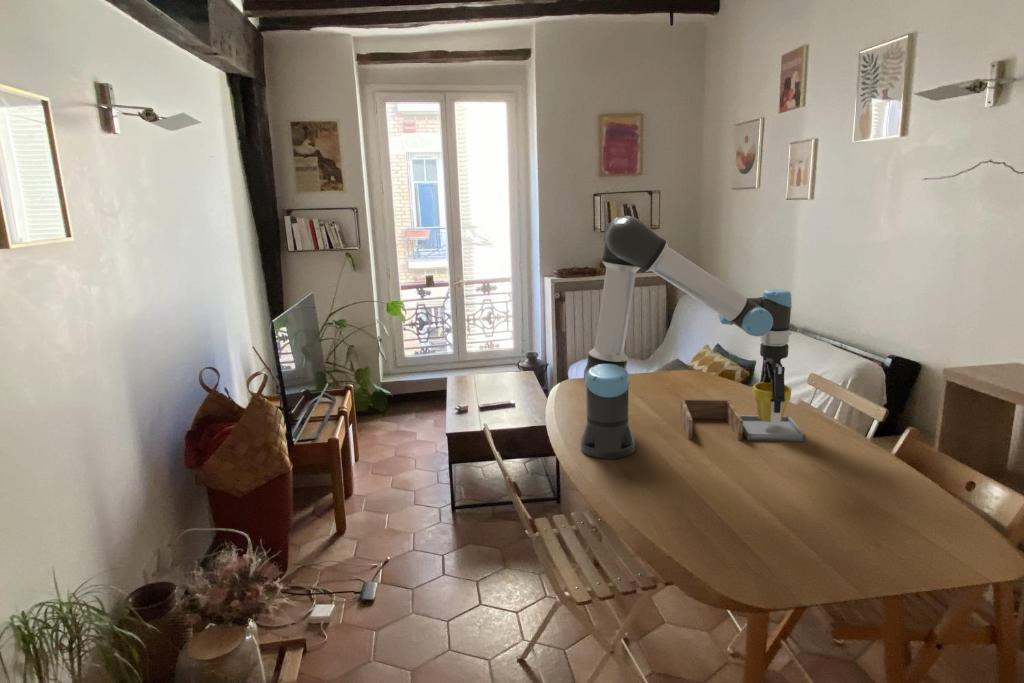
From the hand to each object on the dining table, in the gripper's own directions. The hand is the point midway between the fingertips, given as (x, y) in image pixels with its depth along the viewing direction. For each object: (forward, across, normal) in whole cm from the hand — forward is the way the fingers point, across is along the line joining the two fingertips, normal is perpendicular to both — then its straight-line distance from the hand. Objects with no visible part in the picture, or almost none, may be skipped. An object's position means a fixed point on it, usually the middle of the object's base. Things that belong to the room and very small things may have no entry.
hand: (770, 415), depth 184 cm
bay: (+5, +1, +17) cm, 18 cm away
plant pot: (+1, 0, 0) cm, 1 cm away
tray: (+5, 0, 0) cm, 5 cm away
